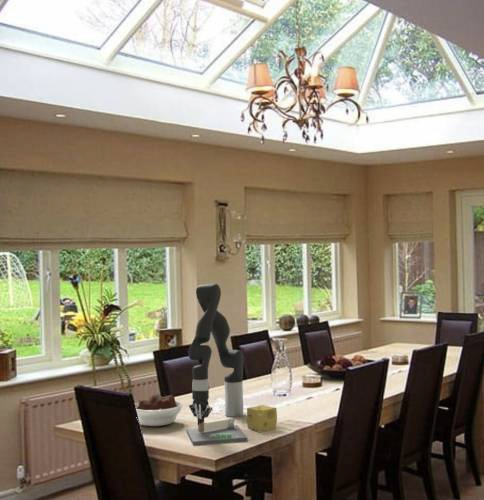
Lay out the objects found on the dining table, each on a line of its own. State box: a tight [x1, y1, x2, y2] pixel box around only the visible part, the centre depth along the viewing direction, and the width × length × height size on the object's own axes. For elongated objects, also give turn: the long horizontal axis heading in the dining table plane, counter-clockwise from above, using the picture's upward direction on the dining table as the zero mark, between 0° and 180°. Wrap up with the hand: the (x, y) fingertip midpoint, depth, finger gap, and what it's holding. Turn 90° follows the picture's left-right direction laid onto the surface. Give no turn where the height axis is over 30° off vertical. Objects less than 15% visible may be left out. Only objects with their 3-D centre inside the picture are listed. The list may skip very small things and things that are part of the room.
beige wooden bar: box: [197, 417, 235, 432], centre depth 329 cm, size 18×4×4 cm, turn 124°
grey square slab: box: [185, 424, 249, 446], centre depth 324 cm, size 24×24×3 cm
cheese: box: [246, 404, 278, 433], centre depth 337 cm, size 10×11×10 cm
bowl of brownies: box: [134, 393, 183, 427], centre depth 351 cm, size 25×25×15 cm
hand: (200, 426), depth 328 cm, fingers closed
